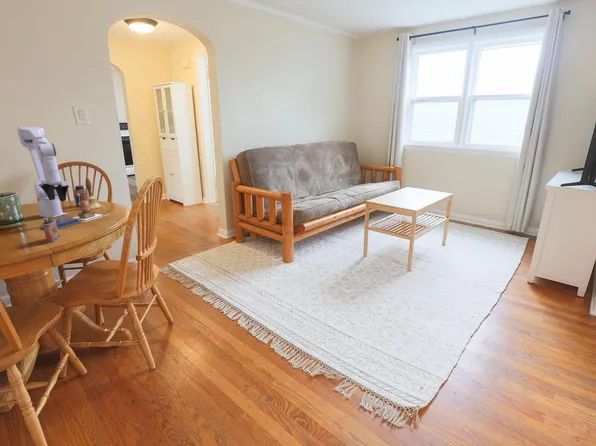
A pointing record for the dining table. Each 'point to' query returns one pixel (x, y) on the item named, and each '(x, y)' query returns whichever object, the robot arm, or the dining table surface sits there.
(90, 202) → the hand bell
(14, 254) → the dining table surface
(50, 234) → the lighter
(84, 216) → the stamp
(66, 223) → the ink pad
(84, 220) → the marked square
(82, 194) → the supplement bottle
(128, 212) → the dining table surface
